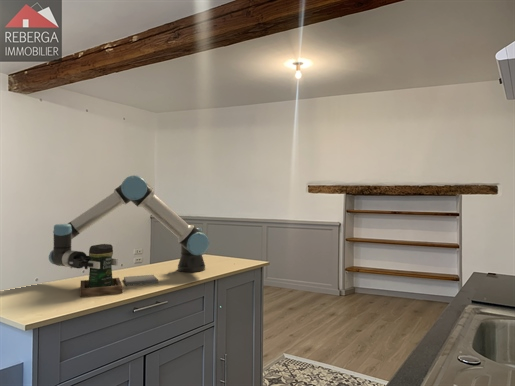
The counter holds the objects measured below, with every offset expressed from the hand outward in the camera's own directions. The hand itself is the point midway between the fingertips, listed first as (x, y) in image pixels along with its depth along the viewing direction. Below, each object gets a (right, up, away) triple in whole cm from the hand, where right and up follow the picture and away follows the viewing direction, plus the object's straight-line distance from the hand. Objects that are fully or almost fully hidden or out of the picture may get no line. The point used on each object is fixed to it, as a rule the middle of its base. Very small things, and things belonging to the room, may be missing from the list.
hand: (108, 263), depth 162 cm
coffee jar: (-4, -11, +2) cm, 12 cm away
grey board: (+8, -12, +20) cm, 24 cm away
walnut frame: (-4, -12, +2) cm, 13 cm away
